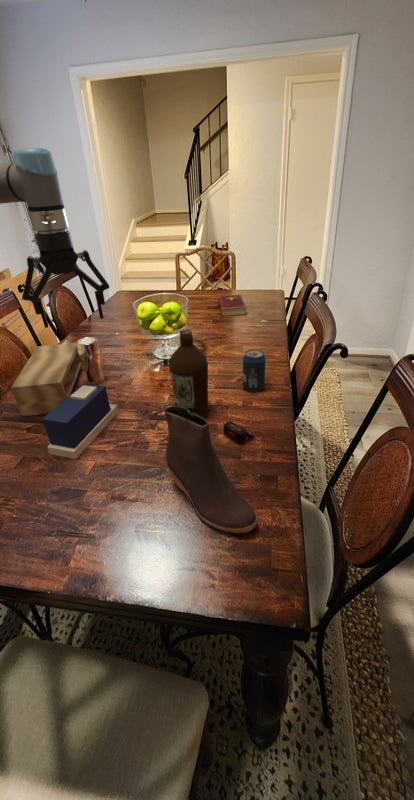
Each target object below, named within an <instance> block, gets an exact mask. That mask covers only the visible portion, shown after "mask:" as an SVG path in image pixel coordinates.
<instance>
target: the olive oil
mask: <svg viewBox="0 0 414 800" xmlns="http://www.w3.org/2000/svg"><path fill="white" fill-rule="evenodd" d="M179 335H180V336H179V342H180V344H179V346H178V347H177V348H176V350H175V351H174V352H173V353H171V356H170V359H169V363H168V364H169V365H168V368H169V376H170V379H171V386H172V392H173V393H172V394H173V398H174V406H181V407H184V408H186V409H188V410H189V411H190V412H191V414H192V413H195V414H196V415H199V416H200V417H202V418H204V417H205V416H206V415H207V414H208V412H209V361H208V358H207V356H206V353H204V352H203V351H202V350H201V349H200V348H198V347H197V346H196V345H195V344H194V337H193V336H194V335H193V330H191V329H186V328H185V329H182V330H179Z"/></svg>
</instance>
